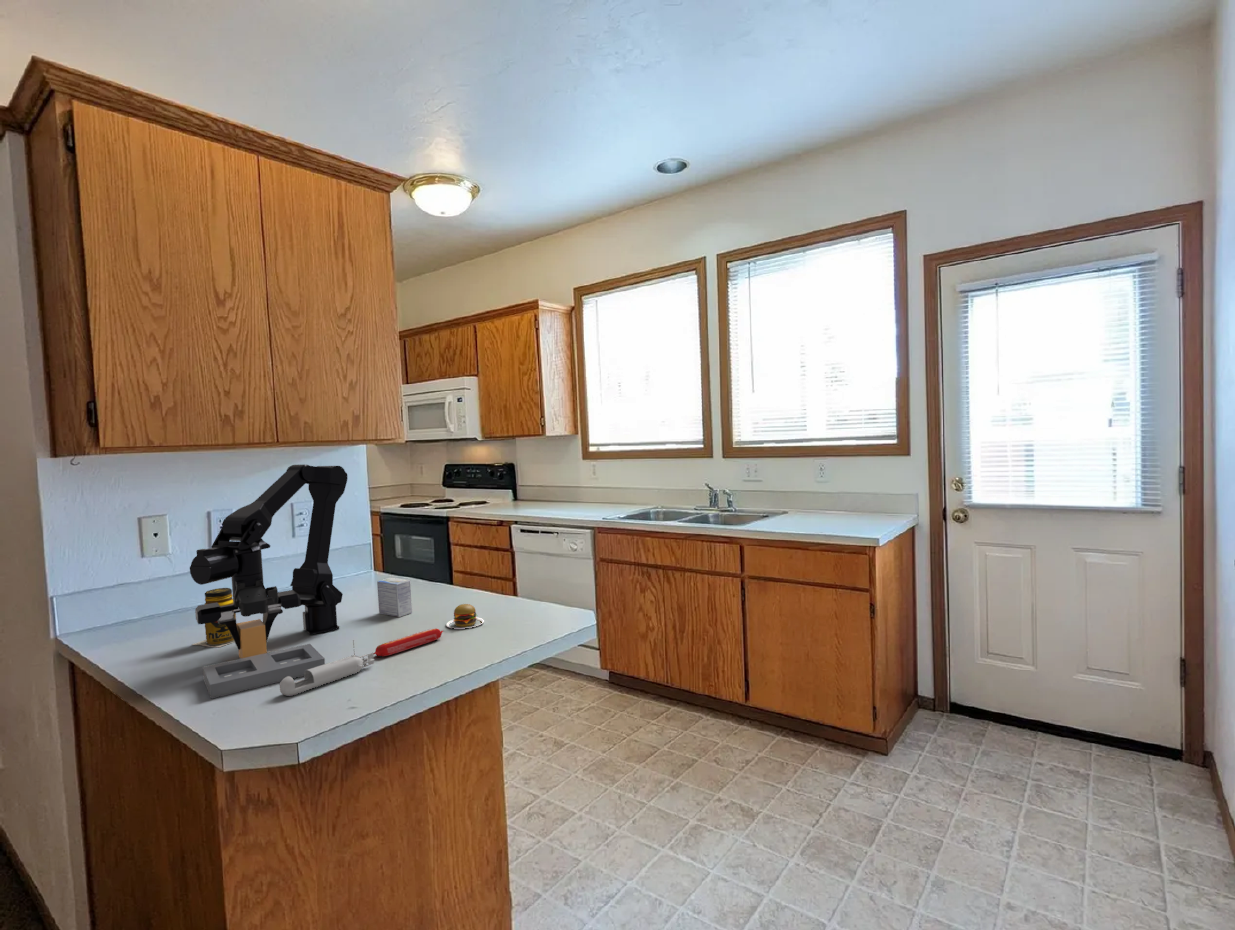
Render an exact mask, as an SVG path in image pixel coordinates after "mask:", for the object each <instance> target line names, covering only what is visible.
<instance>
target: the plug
mask: <svg viewBox="0 0 1235 930" xmlns="http://www.w3.org/2000/svg"><path fill="white" fill-rule="evenodd" d="M236 624H237V629H238V634H239V639H240V647H241V649H240V650H238V657H239V659H240V658H246V657H250V656H255V655H260V654H264V653H268V647H267V643H266V632H265V624H264V623H263V620H261V618H258V619H253V620H249V621H248V620H247V621H242V622H236Z"/></svg>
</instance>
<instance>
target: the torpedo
mask: <svg viewBox="0 0 1235 930" xmlns="http://www.w3.org/2000/svg"><path fill="white" fill-rule="evenodd" d="M352 643H353V647H355V639H353V640H352ZM373 653H374V652H371V653H366V654H364V655H361V656H360V655H359V656H358V655H355V654H356V653H355V650H353V654H352V655H350V656H346V657H344V658H340V659H337V660H333V661H331V662H328V663H327V662H326V663H325V664H324V665H321V666H318V667H314V668H311V669H308V670H306V671H305V674H304V676H303V677H304V679H301V680H299V681H295V680H294V679H293V678H292V677H290V676H287V677H285V678H284V679H283V680H282V681H281V682H279V690H280V691H279V692H280V694H282V695H284V696H287V697H291V696H293V695H294V696H296V695H299V694H302V693H305V692H307V691H306V690H308V691H310V690H309V689H311V690H313V689H312V688H314V689H315V687H316V688H319V687H321V685H322V686H324V685H323V684H325V685H327V684H326V683H328V684H330V682H331V683H333V681H334V682H336V681H335V680H337V681H339V680H342V679H344V678H343V677H345V678H347V676H348V677H350V676H349V675H351V676H353V675H352V674H354V675H356V674H358V673H359V672H360V671H361V669H363V668H367V667H368V666H371V665H374V663H375V658H374V655H373ZM366 656H367V657H366ZM357 672H358V673H357ZM355 673H356V674H355ZM341 678H342V679H341ZM338 679H339V680H338ZM318 686H319V687H318ZM304 691H305V692H304ZM301 692H302V693H301ZM298 693H299V694H298Z"/></svg>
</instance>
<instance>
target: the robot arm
mask: <svg viewBox="0 0 1235 930" xmlns="http://www.w3.org/2000/svg"><path fill="white" fill-rule="evenodd" d="M347 482H348V473H347V472H346V471H345V468H344V467H343V466H341V465H317V466H316V465H315V466H314V465H313V466H312V465H309V464H292V465H290V466H289V467H287V469H286V471H285V472H284V473H283V474H282V475H281V476H280V477H278V479H277V480H275V481H274V482H273V483H272V484H271V485H270V486H269V487H268V488H267V489H266V490H265V491H263V493H262V494H261V495H259V496H258V498H256V499H255V500H254V501H253V502H251V503H249V504H247V505H244V506H242V507H240V508H238V509H236V510H234V511H233V512H232V513H230V514H229V515H226V517H225V518H224V520H223V521H222V523H221V525H222V527H221V529H220V530H219V531H218V533H217V536H216V538H215V539H214V540H213V542H212V545H211V547H210V548H199V549H197V550H196V556H195V557H193V559H192V561H191V563H190V565H189V573H190V575H191V578H192V580H193V581H194V582H195V583H196V584H198V585H206V584H210V583H215V582H218V581H221V580H226V579H229V578H231V589H232V599H233V604H231V605H226V606H219V604H218V603H211V604H205V603H204V604H200V605H197V607H195V609H194V611H195V612H194V613H195V620H196V622H197V625H205V624H206V623H211V622H217V621H218V623H219V624H225V625H226V626H227V628H228V629H229V631H230V633H231V635H232V637H233V639H234V641H235V642H234V644H235V646H236V648H237V649H238V650H240V649H241V647H240V639H239V634H238V629H237V618H236V619H235V618H234V616H233V615H234V613H236V614H237V613H240V616H242V617H246V618H247V617H251V616H253V615H257V614H261V615H262V622H263V623H264V624H265V632H266V644H267V643H268V640H269V636H270V633H271V629H272V627H273V624H274V621H275V619H276V618H277V616H279V615H281V614H283V612H284V610H283V609H285V610H289V609H293V608H299V607H301V606H304V611H303V612H302V623H303V624H302V625H303V630H304V631H305V632H307V634H309V635H316V634H322V633H326V632H327V633H328V632H331V631H337V630H340V626H339V625H338V619H337V618H338V616H337V605H338V604H341V603H342V600H343V592H342V591H341V590H339V588H337V587H336V586H335V585H334V584H333V582H334V580H333V579H334V578H333V577H334V574H333V572H332V569H331V567H330V566H329V554H330V548H331V541H332V533H333V526H334V520H335V513H336V512H335V511H336V506H337V502H338V501H339V500H340V498H342V496H343V495H344V493H345V490H346V486H347ZM304 485H308V491H309V493H310V496H311V498H312V501H313V502H312V509H311V515H310V522H309V530H308V537H307V545H306V551H305V558H304V562H303V563H302V565H300V567H299V568H298V567H297V568H296V567H295V568H293V570H292V579H291V583H290V587H291V589H290V590H285V591H284V590H283V591H279V592H278V587H277V585H276V586H275V585H274V586H270V587H266V586H265V585H264V572H263V569H264V568H263V557H262V555H263V554H262V551H263V550H265V549H269V548H271V545H270V543H268V542H266V541H264V539H263V537H264V536H265V534H266V533H267V532H268V530H269V529H270V527H271V526H272V522H273V517H274V516H275V515H276V513H277V512H279V510H281V508H282V507H284V505H286V504H287V502H289V500H291V498H292V497H293V496H295V495H296V494H297V493H298V491H300V489H302V488H303V487H304ZM282 608H283V609H282Z"/></svg>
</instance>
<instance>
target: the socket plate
mask: <svg viewBox="0 0 1235 930" xmlns="http://www.w3.org/2000/svg"><path fill="white" fill-rule="evenodd" d="M324 664H326V659H325V657H324V656H323V655H322V654H321V653H320V652H319V651H318V650H317V649H316V648H315V647H314V646H313V645H312V644H311V643H307V644H303V645H302V644H301V645H298V646H293V647H287V648H284V649H279V650H274V651H271V652H267V653H264V654H260V655H255V656H250V657H246V658H241V659H240V658H238V659H231V660H229V661H224V662H219V663H214V664H209V665H205V666H202V674H203V682H204V683H205V687H206V689H207V691H208V694H209V697H210V699H215V698H220V697H223V696H228V695H232V694H236V693H240V691H241V692H244V691H243V690H245V691H248V690H247V689H249V690H252V689H256V688H262V687H265V686H268V685H272V684H277V683H281V681H282V680H283V679H284V678H285V677H287V676H290V677H292V678H294V679H297V678H296V677H298V678H301V677H304V674H305V671H306V670H308V669H311V668H314V667H318V666H321V665H324ZM264 685H265V686H264ZM219 696H220V697H219Z"/></svg>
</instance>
